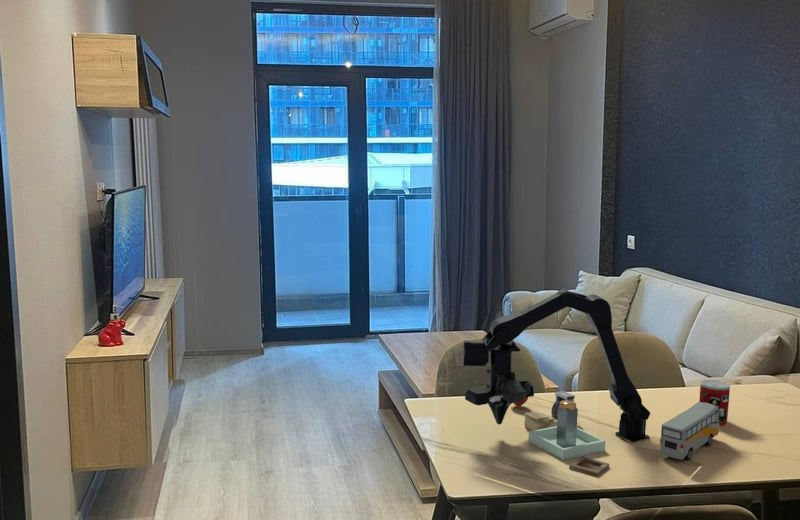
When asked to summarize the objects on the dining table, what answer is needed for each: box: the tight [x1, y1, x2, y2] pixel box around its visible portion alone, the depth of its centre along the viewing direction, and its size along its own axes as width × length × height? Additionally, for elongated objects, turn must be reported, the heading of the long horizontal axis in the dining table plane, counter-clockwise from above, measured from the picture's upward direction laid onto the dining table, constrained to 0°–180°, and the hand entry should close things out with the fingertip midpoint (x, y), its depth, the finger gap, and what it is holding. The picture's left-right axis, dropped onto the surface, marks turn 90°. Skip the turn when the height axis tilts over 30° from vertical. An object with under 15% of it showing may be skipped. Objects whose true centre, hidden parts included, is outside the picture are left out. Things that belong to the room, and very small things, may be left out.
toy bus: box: [659, 401, 724, 462], centre depth 185 cm, size 7×26×10 cm, turn 137°
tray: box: [528, 426, 606, 461], centre depth 186 cm, size 14×14×3 cm
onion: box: [513, 397, 529, 408], centre depth 216 cm, size 6×6×8 cm
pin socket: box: [568, 456, 610, 478], centre depth 172 cm, size 7×7×1 cm
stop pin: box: [556, 400, 579, 448], centre depth 185 cm, size 4×4×11 cm
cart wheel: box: [551, 390, 576, 419], centre depth 203 cm, size 7×5×8 cm
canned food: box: [698, 379, 731, 426], centre depth 206 cm, size 8×8×11 cm
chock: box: [523, 410, 557, 431], centre depth 199 cm, size 8×5×4 cm, turn 118°
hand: (499, 423), depth 192 cm, fingers closed
